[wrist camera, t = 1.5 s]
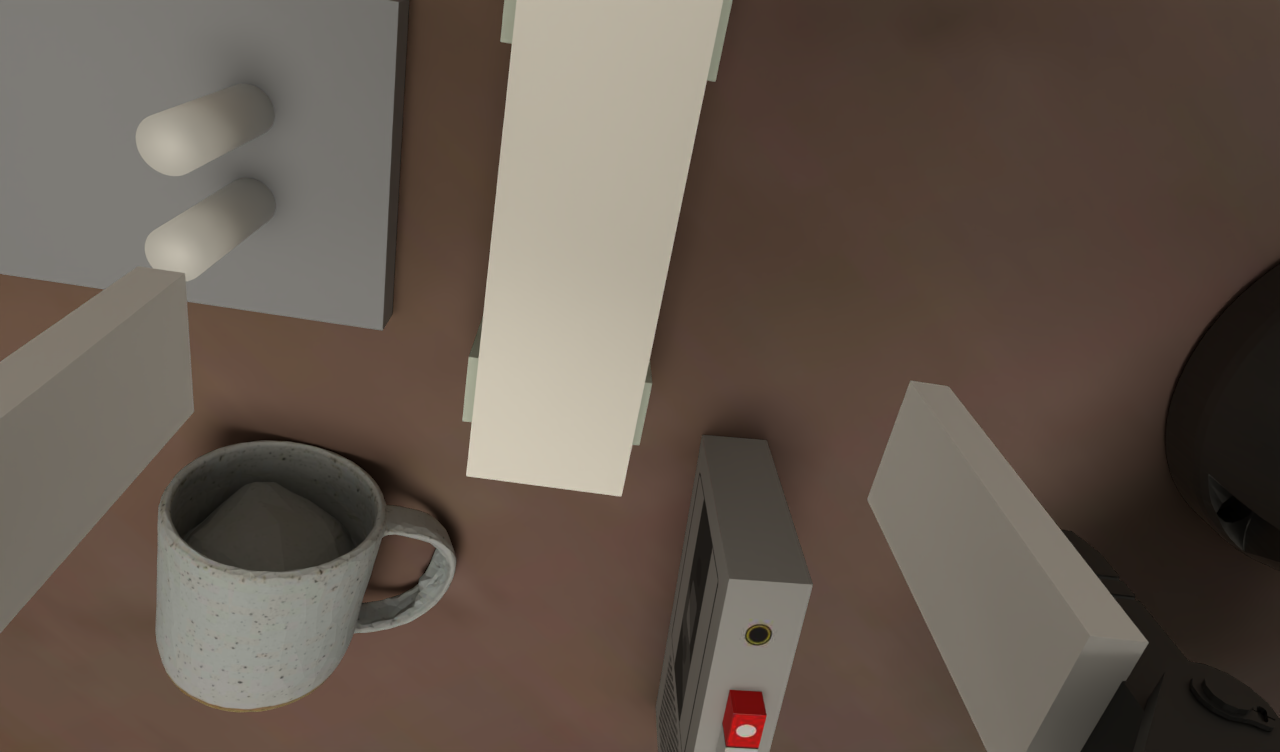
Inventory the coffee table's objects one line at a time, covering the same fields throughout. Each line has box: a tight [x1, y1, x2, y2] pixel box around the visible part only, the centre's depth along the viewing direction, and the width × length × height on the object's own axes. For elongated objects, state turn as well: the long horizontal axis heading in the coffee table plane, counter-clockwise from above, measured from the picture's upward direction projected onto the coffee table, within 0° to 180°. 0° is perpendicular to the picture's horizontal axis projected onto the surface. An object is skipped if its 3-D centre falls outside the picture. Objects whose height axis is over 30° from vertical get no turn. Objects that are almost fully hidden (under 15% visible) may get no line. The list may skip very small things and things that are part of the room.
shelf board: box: [466, 0, 723, 497], centre depth 25 cm, size 16×5×2 cm, turn 170°
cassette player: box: [656, 435, 813, 752], centre depth 34 cm, size 16×3×10 cm, turn 173°
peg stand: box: [0, 0, 409, 331], centre depth 25 cm, size 21×11×7 cm, turn 80°
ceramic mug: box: [156, 440, 456, 712], centre depth 33 cm, size 11×8×8 cm
